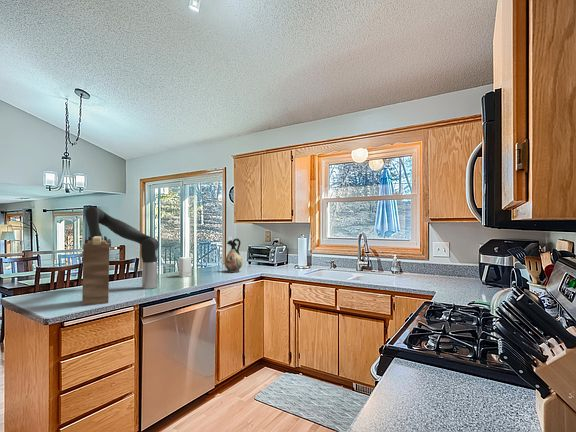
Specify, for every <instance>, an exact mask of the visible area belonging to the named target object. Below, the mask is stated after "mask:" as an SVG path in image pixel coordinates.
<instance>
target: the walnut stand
mask: <svg viewBox="0 0 576 432" xmlns="http://www.w3.org/2000/svg"><path fill="white" fill-rule="evenodd" d="M92 242H93V240H92V241H88V242H87V243H85V242H84V244H83V245H82V246H83V248H82V249H83V250H82V251H83V252H82V253H83V256H82V294H81V295H82V297H81V299H82V301H81V302H82V303H81V306H89V305H92V306H93V305H100V304H109V298H110V297H109V288H110V286H109V285H110V281H109V280H110V247H109V243H106V240H104V239H103V240H102V241H101V244H100V245H92Z"/></svg>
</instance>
